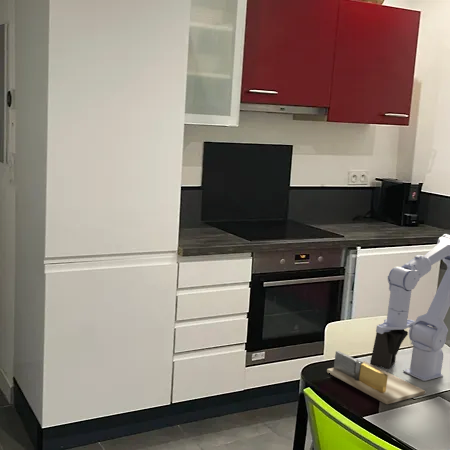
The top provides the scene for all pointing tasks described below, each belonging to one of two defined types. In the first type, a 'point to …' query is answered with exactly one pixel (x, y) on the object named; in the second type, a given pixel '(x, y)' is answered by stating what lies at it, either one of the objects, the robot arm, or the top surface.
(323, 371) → the top surface
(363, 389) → the maple board
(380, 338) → the door stopper
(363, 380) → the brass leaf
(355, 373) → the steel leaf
